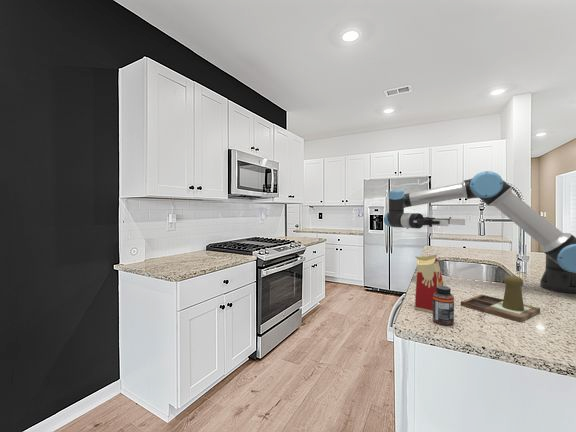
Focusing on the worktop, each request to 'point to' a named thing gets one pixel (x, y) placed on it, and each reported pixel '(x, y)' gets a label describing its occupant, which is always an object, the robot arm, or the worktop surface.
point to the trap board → (499, 308)
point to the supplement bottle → (443, 306)
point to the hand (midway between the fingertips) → (456, 222)
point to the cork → (513, 293)
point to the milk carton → (427, 282)
